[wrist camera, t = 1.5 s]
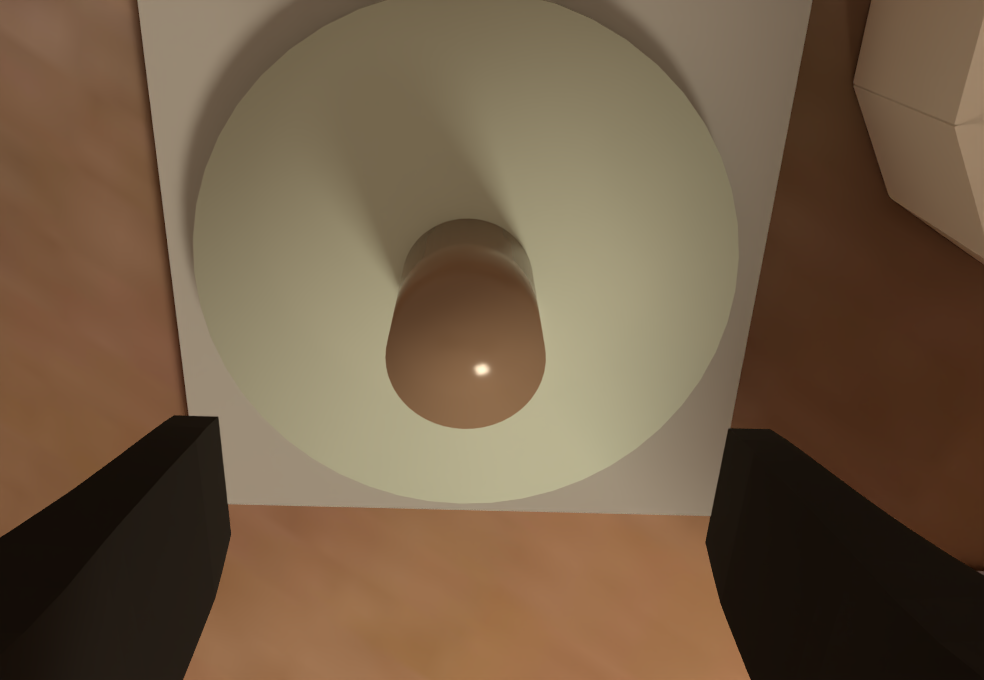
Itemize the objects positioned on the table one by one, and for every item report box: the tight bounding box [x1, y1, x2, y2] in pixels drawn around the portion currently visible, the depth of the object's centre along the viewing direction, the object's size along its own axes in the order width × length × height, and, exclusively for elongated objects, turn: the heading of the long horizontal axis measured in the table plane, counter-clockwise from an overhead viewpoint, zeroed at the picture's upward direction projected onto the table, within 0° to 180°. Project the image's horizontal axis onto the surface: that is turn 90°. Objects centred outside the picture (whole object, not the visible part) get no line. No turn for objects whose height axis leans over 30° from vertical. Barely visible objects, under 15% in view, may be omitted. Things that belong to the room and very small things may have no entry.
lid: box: [193, 0, 739, 504], centre depth 18 cm, size 12×12×5 cm
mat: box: [137, 0, 813, 516], centre depth 21 cm, size 14×14×1 cm
